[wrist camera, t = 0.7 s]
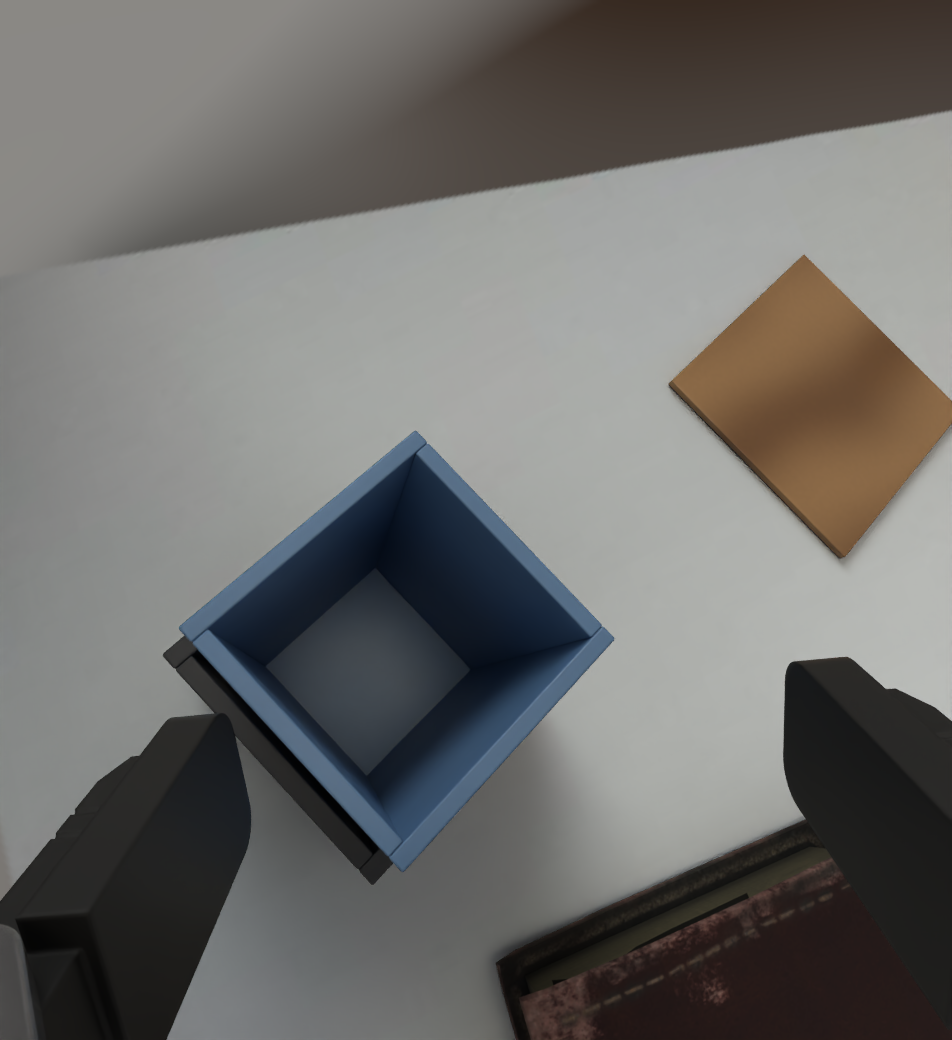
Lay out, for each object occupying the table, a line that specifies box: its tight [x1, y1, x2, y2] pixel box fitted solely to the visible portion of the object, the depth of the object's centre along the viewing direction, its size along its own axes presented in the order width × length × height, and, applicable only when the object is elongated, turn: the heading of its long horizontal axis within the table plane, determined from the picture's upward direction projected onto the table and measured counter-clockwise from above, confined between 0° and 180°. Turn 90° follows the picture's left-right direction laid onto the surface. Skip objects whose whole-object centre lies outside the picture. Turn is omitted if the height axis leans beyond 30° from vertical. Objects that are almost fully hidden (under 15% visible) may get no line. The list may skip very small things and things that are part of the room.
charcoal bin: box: [163, 636, 393, 885], centre depth 25 cm, size 9×9×7 cm
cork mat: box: [669, 255, 952, 558], centre depth 36 cm, size 12×12×1 cm
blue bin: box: [179, 431, 614, 872], centre depth 21 cm, size 6×6×14 cm
